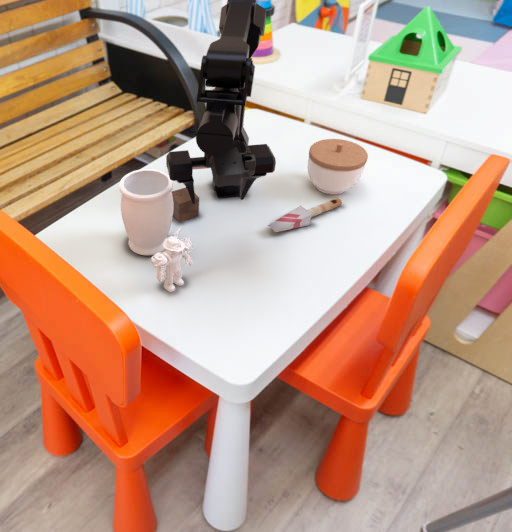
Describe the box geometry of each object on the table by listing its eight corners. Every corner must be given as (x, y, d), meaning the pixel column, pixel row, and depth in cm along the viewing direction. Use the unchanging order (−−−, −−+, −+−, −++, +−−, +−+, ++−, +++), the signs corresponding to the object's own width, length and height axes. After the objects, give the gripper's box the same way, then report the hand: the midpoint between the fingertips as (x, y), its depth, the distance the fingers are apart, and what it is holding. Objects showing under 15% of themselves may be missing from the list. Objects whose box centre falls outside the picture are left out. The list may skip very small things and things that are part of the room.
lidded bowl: (331, 167, 131) (341, 126, 124) (370, 191, 122) (382, 148, 115) (291, 181, 127) (299, 139, 119) (329, 207, 118) (339, 164, 111)
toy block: (187, 205, 121) (188, 186, 118) (198, 216, 117) (199, 197, 114) (168, 210, 119) (168, 192, 116) (178, 222, 116) (179, 203, 113)
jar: (145, 222, 116) (142, 162, 106) (183, 240, 111) (184, 178, 101) (113, 247, 110) (107, 186, 100) (152, 266, 105) (150, 204, 95)
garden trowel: (266, 218, 111) (334, 192, 119) (264, 229, 112) (331, 203, 120) (278, 227, 108) (347, 200, 116) (276, 238, 110) (344, 211, 118)
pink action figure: (183, 269, 104) (184, 220, 96) (197, 279, 102) (199, 229, 94) (148, 290, 100) (146, 240, 92) (162, 301, 98) (161, 251, 90)
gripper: (174, 154, 83) (174, 231, 93) (290, 144, 84) (277, 222, 94) (165, 121, 91) (166, 195, 102) (271, 112, 92) (261, 187, 102)
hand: (217, 200), depth 100 cm, fingers open, 9 cm apart
